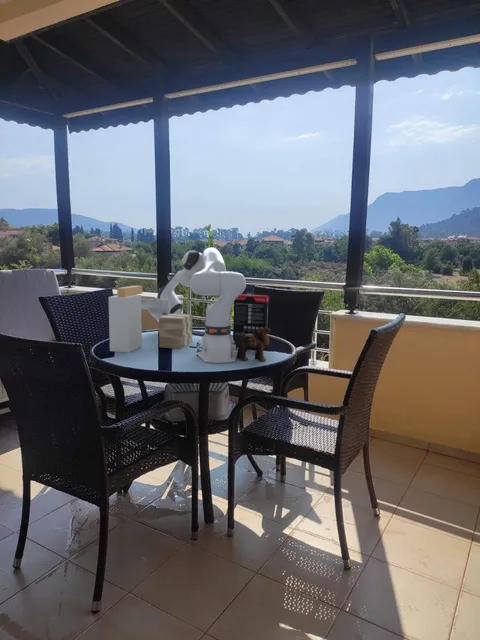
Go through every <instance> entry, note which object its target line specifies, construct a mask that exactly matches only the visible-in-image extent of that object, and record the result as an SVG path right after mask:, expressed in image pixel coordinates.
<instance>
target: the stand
mask: <svg viewBox="0 0 480 640" xmlns="http://www.w3.org/2000/svg"><path fill="white" fill-rule="evenodd" d="M141 297H142V295H141V294H137V295H132V296H127V297H117V295H112V296H108V325H109V326H108V329H109V335H108V336H109V351H110V352H119V353H131V352H133V351H135V350H138V349H139V348H141V347H143V344H142V343H143V336H142V335H143V333H142V331H143V330H142V328H143V327H142V324H143V323H142V309H141Z"/></svg>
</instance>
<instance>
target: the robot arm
mask: <svg viewBox="0 0 480 640" xmlns="http://www.w3.org/2000/svg"><path fill="white" fill-rule="evenodd" d="M181 264H182V267H183V269H180V270H177V271H175V273H174V274H173V275H172V276H171V277H170V279H169V280H168V281H167V282H166V283H165V284H164V285H163V287H161V288H159V290H158V292H157V296H155V297H154V298H143V297H142V296H141V310H147V311H148V313H149V314H150V315H151V316H152V317H153V318H154V319H155V320H156V321H157V322H158V323H159V318H160V317H162V316H165V315H168V314H182V311H183V309H184V305H183V303H182V302H181V300H180V299H179V297H178V295H177V294H176V292H175V288H176V287H177V286H178V285H179V284H181V285H182V286H184V287H188V288H189V287H190V289H191V291H192V293H194V294H195V295H200V296H211V297H212V296H217V297H218V296H219V297H218V300H217V301H215V302H213V303H212V304H209V305H208V306H207V308H206V310H205V325H204V335H203V336H202V337H201V348H200V351H199V352H197V353H196V354H197V356H198V357H199V358H200V359H201V360H202V361H203V362H204V363H210V364H211V363H216V364H218V363H219V364H220V363H221V364H222V363H225V364H226V363H235V362H236V361H237V358H236V357H237V351H236V348H237V347H236V345H233V344H234V341H233V335H231V332H232V331H231V330H232V328H231V324H230V322H231V311H232V307H233V305H234V301H235V299H236V298H237V297H238V296H239V295H240V294H244V291H245V290H246V287H247V280H246V278H245V275H244V274H243V273H241V272H236V271H227V267H226V263H225V260H224V258H223V256H222V254H221V252H220V251H219V250H218V249H217V248H216V247H207V248H206V249H204V250H203V251H202V252H199V251H198V250H188V251H186V253H185V254H184V256H183V258H182V263H181Z"/></svg>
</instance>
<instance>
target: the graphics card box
mask: <svg viewBox="0 0 480 640" xmlns="http://www.w3.org/2000/svg"><path fill="white" fill-rule="evenodd" d="M269 300H270V296H269V295H267V294H266V295H263V294H247V293H246V294H244V293H242V294H240V295H239V296H238V297H237V298H236V299H235V301H234V302H233V318H232V319H233V324H232V337H233V341H234V344H233V345H236V348H239V343H240V339H241V337H242V336H243V334H256V336H257V337H258V338H259V339H260V337H259V336H258V335H257V330H258V329H259V328H269V327H268V323H269V302H270V301H269ZM260 340H261V339H260ZM264 350H266V348H264V349H263V351H264Z"/></svg>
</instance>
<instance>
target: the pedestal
mask: <svg viewBox="0 0 480 640" xmlns="http://www.w3.org/2000/svg"><path fill="white" fill-rule="evenodd" d="M158 330H159V332H158V339H159V340H158V341H159V342H158V343H159V344H158V346H159V348H165V349H166V348H168V349H182V350H183V349H185V347H187V346H189V345H191V344H192V343H193V314H190V313H189V314H187V313H180V314H168V315H165V316H162V317H160V318H159V322H158Z"/></svg>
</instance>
